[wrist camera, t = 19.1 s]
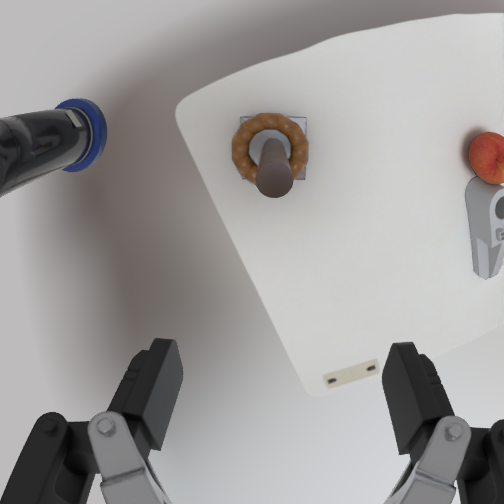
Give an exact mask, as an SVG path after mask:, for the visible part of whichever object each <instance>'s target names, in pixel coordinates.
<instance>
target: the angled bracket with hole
mask: <svg viewBox="0 0 504 504" xmlns="http://www.w3.org/2000/svg"><path fill="white" fill-rule="evenodd" d="M465 199H466V205H467V212H468V219H469V226H470V235H471V244H472V255H473V269H474V272H475V273H476V274H477V275H478V276H479V277H481V278H483V279H485V280H486V279H488V278H491V277H493V276H495V275H497V274H498V272H499V270H500V268H501V266H502V264H503V257H504V186H502V185H500V184H490V183H487V182H485V181H484V180H482V179H481V178H480V177H479V176H477V177H474V178H473V179H472V180H471V181H470V182H469V184H468V185H467V188H466V192H465Z"/></svg>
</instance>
